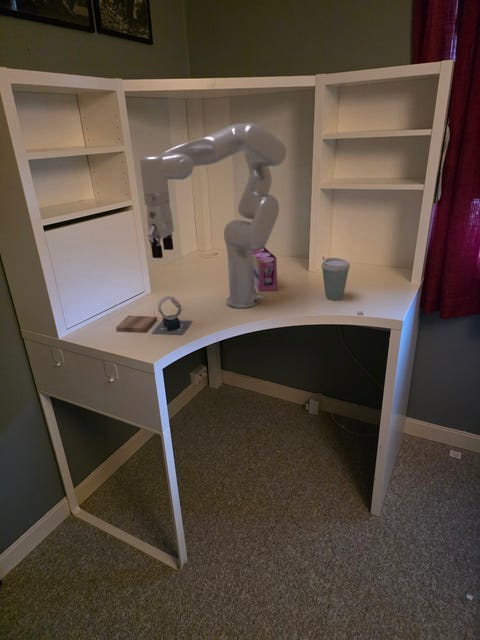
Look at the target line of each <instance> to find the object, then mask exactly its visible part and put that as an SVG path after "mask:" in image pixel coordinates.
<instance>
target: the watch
mask: <svg viewBox="0 0 480 640" xmlns="http://www.w3.org/2000/svg"><path fill="white" fill-rule="evenodd" d="M167 300H168V301H169V300H170V301H171V302H172V304H173V305H174V306H175V307H176V308H177V311H176V313H175V314H171V315H165V314H164V312H163V311H162V306H163V303H164V302H166V301H167ZM182 308H183V306H182V305H181V303H180V302H179V301H178V300H177V298H175V296H171V295H168V296H164V297H163V298H161V299H160V300H159V302H158V305H157V310H158V312H159V314H160V315H161V316H162V320H163V323H164V326H165V327H166V329H167V330H168V331H172V330H176V329H180V328H181V327H180V318H179V317H180V315H181V313H182V311H183V309H182Z"/></svg>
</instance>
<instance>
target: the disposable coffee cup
mask: <svg viewBox="0 0 480 640" xmlns="http://www.w3.org/2000/svg"><path fill="white" fill-rule="evenodd" d="M350 264H351V263H349V261H348V260H346V259H343V258H339V257H326V258H325V259H323V261H322V263H321V270H322V276H323V284H324V285H323V286H324V292H325V297H326V299H327V300H329V301H339V300H342V299H343V297H344V294H345V289H346V285H347V279H348V275H349V270H350V268H351V267H350V266H351V265H350Z"/></svg>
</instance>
